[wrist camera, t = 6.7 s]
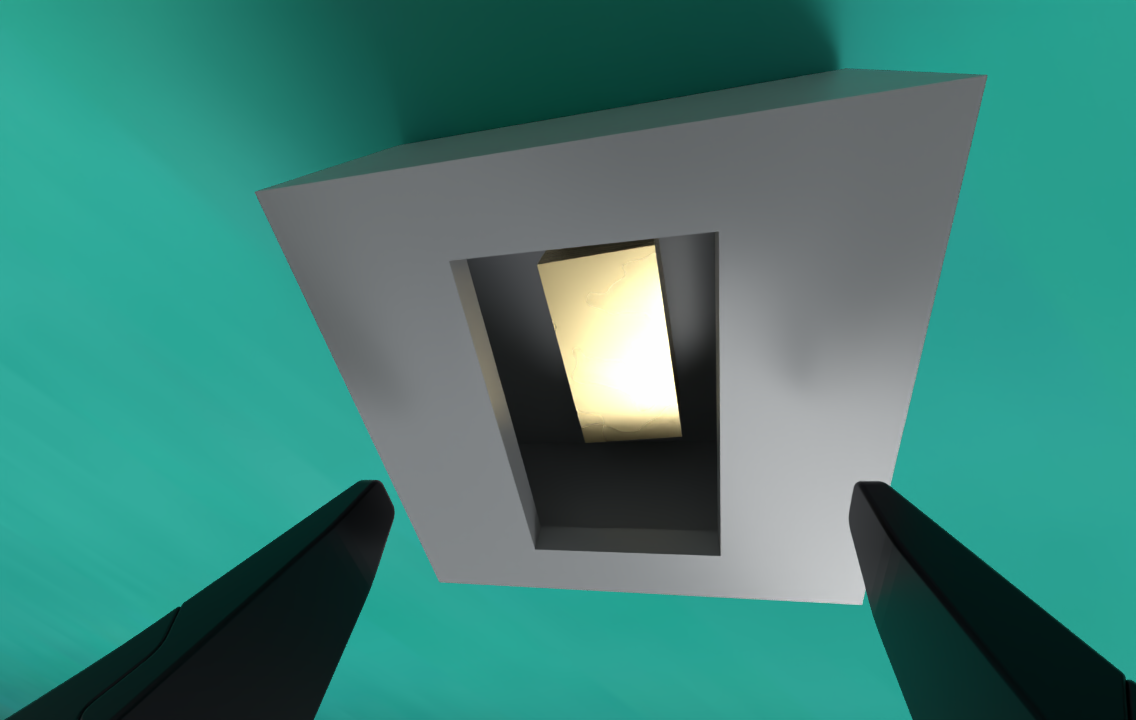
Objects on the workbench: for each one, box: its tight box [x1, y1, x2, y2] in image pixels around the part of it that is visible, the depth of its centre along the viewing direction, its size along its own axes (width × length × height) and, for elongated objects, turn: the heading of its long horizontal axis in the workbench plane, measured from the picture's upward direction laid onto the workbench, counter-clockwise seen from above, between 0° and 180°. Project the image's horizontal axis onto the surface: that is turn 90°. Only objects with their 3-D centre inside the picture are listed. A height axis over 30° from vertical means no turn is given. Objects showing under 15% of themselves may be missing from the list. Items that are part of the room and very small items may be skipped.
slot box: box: [255, 68, 987, 605], centre depth 13 cm, size 12×12×6 cm
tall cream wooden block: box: [537, 238, 682, 443], centre depth 14 cm, size 3×6×2 cm, turn 13°
